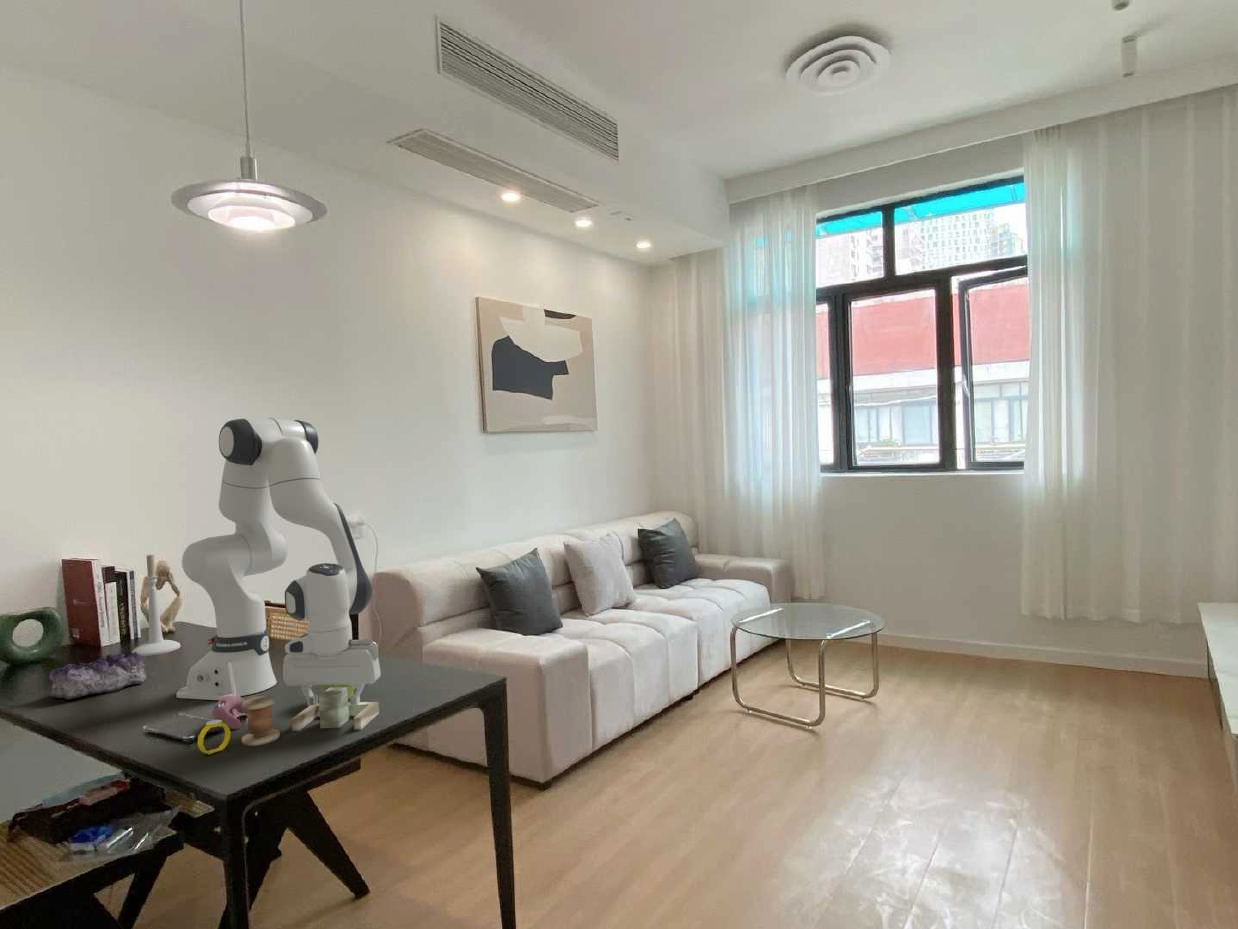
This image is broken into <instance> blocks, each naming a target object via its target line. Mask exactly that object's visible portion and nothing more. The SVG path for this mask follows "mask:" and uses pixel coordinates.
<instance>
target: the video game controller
mask: <svg viewBox="0 0 1238 929" xmlns="http://www.w3.org/2000/svg"><path fill="white" fill-rule="evenodd" d="M245 700H246V699H243V698H242V696H236V694H234V695H233V696H232V695H231V696H226V697H224V698H222V699H221V700H217V703H216V705H215V706H214V707H213V709H212V712H211V713H212V717H213V719H214V720H222V723H224V724H226V725H228V727H229V728H230V730H238V729H240V727H241V726H242V725H241V724H242V723H241V720H240V719H239V718H238V719H237V717H238V715H240V713H241V714H243V713H245V714H244V715H246V714H247V709H243V708H242V703H243V702H244V701H245Z"/></svg>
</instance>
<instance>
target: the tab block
mask: <svg viewBox="0 0 1238 929" xmlns="http://www.w3.org/2000/svg"><path fill="white" fill-rule="evenodd" d="M318 703H319V709H320V717H319V720H320V722H319V723H320V725H319V726H320V729H339V728H341V727H342V726H343V725H344V724H345V723H347V722H348V721H349V720H350V716H349V707H348V703H349V700H348V689H347V687H337V688H328V689H327V690H326V691H324V690H323V692H321V693H320V694H319V695H318Z"/></svg>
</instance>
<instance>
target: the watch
mask: <svg viewBox="0 0 1238 929" xmlns="http://www.w3.org/2000/svg"><path fill="white" fill-rule="evenodd" d="M220 726H221V727H222V728H223V730H224V739H223V741H222V743H221V744H220V745H219V747H216V748H214V749H213V748H212V749H210V750H206V747H205V746H204V741H205V736H206V734H207V732H208V731H209V730H211V729H212V728H217V727H220ZM230 740H231V728H229V727H228V725H226V724H224V723H222V720H215V719H212V720H209V721H207V722H205V726H204V727H203V728H202V729H201V731H200V733H199V735H198V737H197V747H198V750H199V751H201V752H202V754H206V755H212V754H215V753H218V752H220V751H223V750H225V748H226V747H227V746H228V744H229V743H230Z"/></svg>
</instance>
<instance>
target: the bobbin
mask: <svg viewBox="0 0 1238 929" xmlns="http://www.w3.org/2000/svg"><path fill="white" fill-rule="evenodd" d="M244 700H245V701H244V702H243V703H242V708H243V709H247V715H246V716H247V729H248V730H247V732H248V733H246V734H245V735H243V736H242V737H241V744H242V745H243V746H245V747H246V746H247V747H257V746H262V745H263V746H264V745H267V744H269V743H272V742H274V741H276V740H277V739H279V738H280V735H281V733H280V730H279V729H278V728H277V729H276V728H273V720H272V719H273V718H272V705H274V704H275V703H276V698H275V696H273V695H269V694H268V695H266V694H265V695H258V696H253V697H250V698H248V699H247V698H246V699H244Z"/></svg>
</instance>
